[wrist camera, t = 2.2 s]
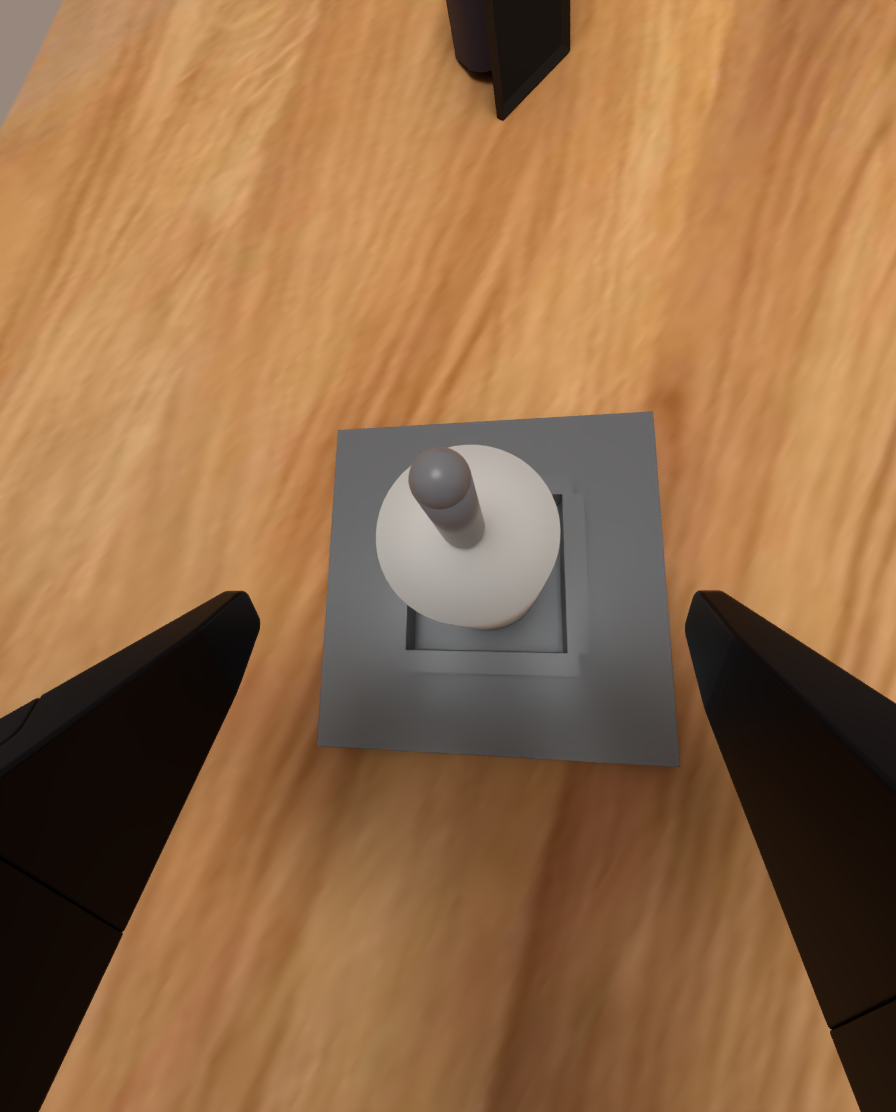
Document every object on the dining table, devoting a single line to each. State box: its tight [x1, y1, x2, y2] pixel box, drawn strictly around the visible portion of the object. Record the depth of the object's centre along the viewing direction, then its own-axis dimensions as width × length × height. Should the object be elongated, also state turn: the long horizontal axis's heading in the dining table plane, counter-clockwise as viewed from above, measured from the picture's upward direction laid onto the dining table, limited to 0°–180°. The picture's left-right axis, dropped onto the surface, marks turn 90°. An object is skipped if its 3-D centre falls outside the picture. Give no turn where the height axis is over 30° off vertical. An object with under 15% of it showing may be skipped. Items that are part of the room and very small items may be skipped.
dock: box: [317, 412, 680, 767], centre depth 18 cm, size 14×14×2 cm
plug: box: [376, 445, 560, 630], centre depth 12 cm, size 4×4×12 cm
